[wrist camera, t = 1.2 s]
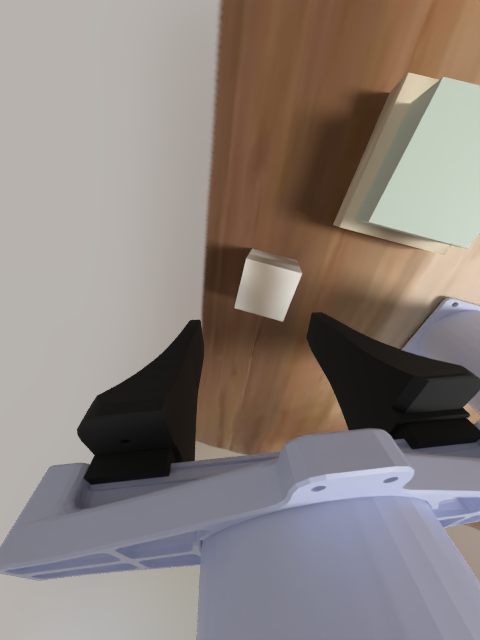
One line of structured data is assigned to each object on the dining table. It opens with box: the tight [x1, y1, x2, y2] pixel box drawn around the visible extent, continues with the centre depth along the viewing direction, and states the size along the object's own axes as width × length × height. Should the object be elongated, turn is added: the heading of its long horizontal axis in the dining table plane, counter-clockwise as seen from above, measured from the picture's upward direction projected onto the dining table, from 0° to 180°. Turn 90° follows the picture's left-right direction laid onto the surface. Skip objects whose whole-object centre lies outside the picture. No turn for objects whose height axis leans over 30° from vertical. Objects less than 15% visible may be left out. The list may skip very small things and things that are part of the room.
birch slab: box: [333, 73, 451, 255], centre depth 16 cm, size 9×9×3 cm
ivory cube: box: [234, 248, 302, 322], centre depth 20 cm, size 5×5×5 cm
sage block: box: [355, 77, 480, 249], centre depth 13 cm, size 7×7×3 cm
